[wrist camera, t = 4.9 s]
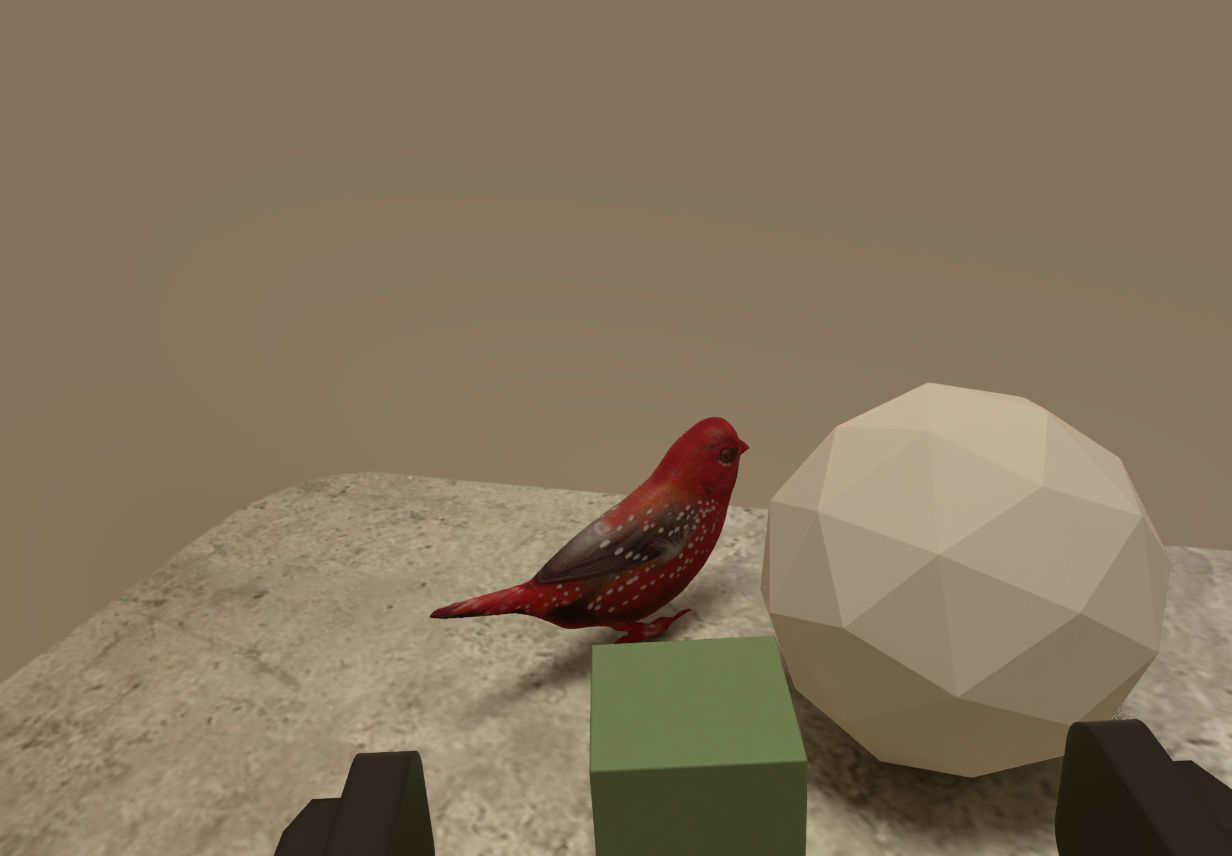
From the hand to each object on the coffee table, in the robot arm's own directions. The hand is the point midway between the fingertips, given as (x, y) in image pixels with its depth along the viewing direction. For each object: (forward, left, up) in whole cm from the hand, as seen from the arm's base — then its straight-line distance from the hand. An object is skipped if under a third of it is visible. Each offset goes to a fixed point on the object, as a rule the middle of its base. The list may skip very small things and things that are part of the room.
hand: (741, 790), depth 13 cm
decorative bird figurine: (-22, -21, -19) cm, 36 cm away
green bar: (-9, -7, -19) cm, 22 cm away
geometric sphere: (-26, -7, -19) cm, 33 cm away
